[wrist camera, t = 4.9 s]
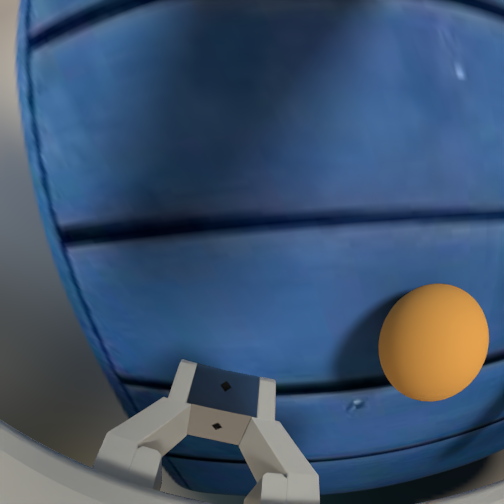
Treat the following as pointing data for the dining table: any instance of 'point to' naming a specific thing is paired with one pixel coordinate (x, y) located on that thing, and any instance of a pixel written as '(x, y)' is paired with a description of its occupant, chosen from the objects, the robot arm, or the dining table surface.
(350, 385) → the dining table surface
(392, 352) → the ball
